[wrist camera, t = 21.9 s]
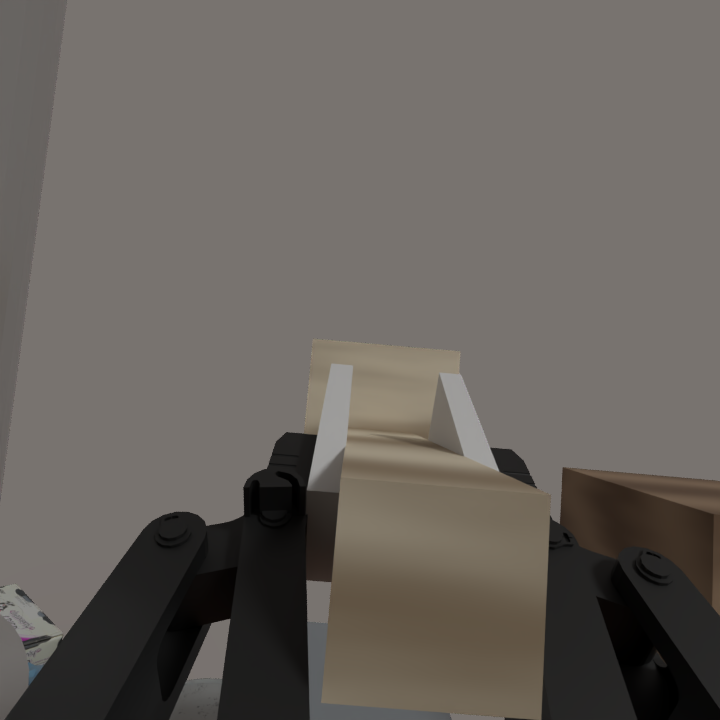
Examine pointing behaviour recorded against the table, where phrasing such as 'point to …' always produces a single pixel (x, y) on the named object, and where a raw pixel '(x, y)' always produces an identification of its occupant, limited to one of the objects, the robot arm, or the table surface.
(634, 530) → the walnut plinth
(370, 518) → the tan wooden bar
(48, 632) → the candy bar box
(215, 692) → the concrete cylinder
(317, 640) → the grey pedestal
